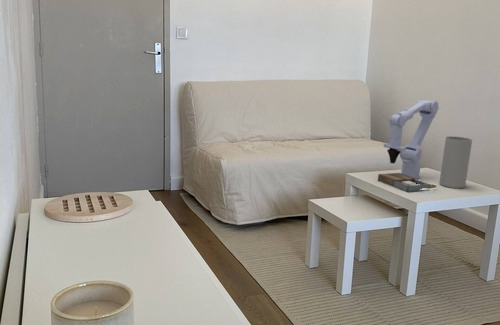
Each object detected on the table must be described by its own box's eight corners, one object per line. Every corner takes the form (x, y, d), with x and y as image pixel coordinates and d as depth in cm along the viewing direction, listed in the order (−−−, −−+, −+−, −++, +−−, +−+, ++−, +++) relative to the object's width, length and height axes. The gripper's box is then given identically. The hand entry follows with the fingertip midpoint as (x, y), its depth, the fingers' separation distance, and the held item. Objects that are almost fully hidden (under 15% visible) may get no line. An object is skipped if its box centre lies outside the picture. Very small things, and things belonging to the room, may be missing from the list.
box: (414, 185, 246) (415, 179, 245) (429, 190, 237) (430, 184, 236) (393, 186, 240) (394, 181, 239) (407, 192, 231) (408, 186, 230)
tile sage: (422, 185, 235) (421, 189, 235) (415, 183, 239) (415, 187, 239) (414, 186, 233) (413, 190, 233) (408, 183, 237) (407, 187, 237)
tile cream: (408, 184, 244) (409, 180, 243) (414, 186, 240) (415, 183, 239) (401, 185, 242) (401, 181, 241) (407, 187, 238) (407, 183, 237)
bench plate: (398, 179, 257) (399, 172, 256) (414, 184, 246) (415, 178, 245) (377, 180, 251) (378, 174, 250) (393, 186, 240) (393, 179, 240)
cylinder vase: (467, 185, 251) (474, 138, 245) (462, 190, 240) (469, 141, 235) (442, 181, 257) (448, 135, 252) (436, 185, 247) (443, 138, 242)
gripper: (380, 135, 253) (377, 160, 256) (399, 140, 241) (396, 166, 244) (390, 135, 256) (387, 159, 259) (409, 140, 244) (406, 165, 247)
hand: (392, 163), depth 252 cm, fingers closed
